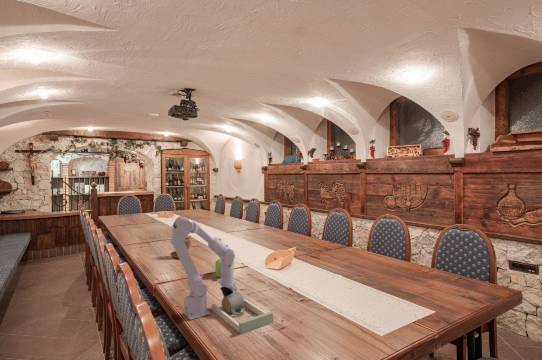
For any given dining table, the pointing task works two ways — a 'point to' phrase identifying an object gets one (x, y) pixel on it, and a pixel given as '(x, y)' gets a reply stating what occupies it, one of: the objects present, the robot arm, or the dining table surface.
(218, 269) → the green rounded oblong piece
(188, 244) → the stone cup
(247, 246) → the dining table surface
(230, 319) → the grey u-shaped frame
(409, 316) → the dining table surface
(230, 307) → the ceramic mug
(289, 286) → the dining table surface
